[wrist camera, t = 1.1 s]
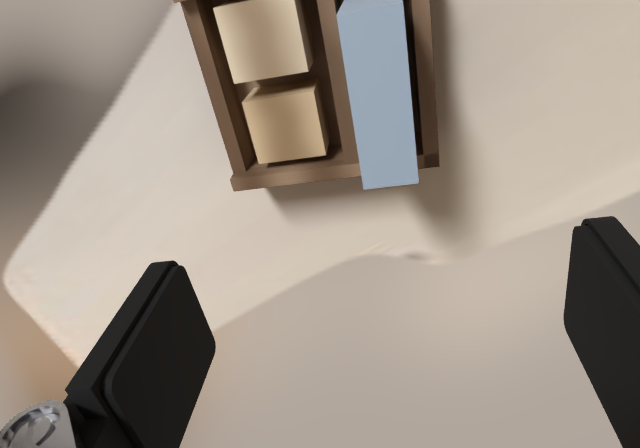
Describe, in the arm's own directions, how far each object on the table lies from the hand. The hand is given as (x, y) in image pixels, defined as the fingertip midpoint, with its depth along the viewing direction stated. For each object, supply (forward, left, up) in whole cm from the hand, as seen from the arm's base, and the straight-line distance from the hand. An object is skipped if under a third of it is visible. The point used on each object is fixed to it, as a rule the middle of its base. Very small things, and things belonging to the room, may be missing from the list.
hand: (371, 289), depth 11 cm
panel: (0, 0, -25) cm, 25 cm away
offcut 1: (+7, -3, -25) cm, 26 cm away
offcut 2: (+7, +3, -25) cm, 26 cm away
